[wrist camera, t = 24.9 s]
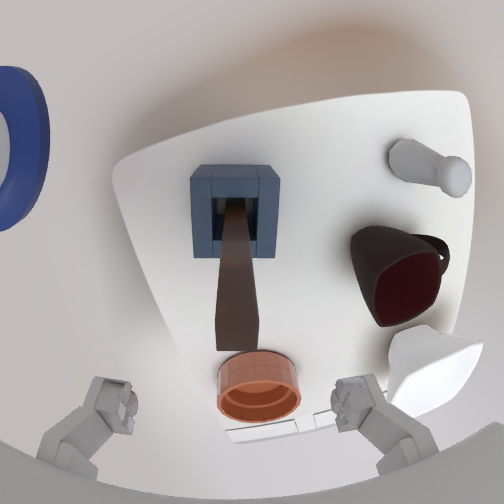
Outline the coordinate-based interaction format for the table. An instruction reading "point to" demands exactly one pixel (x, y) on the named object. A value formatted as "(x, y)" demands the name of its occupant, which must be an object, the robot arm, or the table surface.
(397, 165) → the salt shaker
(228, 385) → the terracotta round dish
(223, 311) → the stirring stick
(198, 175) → the box
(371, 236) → the mug
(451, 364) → the bowl
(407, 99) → the table surface
